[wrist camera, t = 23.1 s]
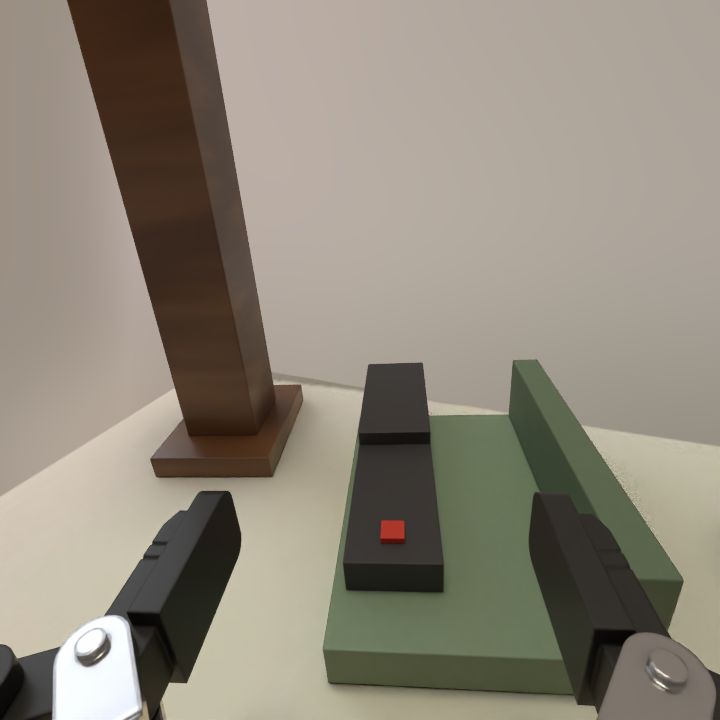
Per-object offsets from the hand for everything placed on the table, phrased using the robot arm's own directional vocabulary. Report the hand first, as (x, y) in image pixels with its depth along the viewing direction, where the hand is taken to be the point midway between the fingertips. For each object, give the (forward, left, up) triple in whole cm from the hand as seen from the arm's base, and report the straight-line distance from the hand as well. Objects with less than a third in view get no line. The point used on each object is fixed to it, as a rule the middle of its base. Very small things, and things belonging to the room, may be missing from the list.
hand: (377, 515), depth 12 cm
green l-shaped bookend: (+1, +9, -9) cm, 13 cm away
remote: (-2, +11, -7) cm, 14 cm away
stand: (-15, +16, -9) cm, 24 cm away
